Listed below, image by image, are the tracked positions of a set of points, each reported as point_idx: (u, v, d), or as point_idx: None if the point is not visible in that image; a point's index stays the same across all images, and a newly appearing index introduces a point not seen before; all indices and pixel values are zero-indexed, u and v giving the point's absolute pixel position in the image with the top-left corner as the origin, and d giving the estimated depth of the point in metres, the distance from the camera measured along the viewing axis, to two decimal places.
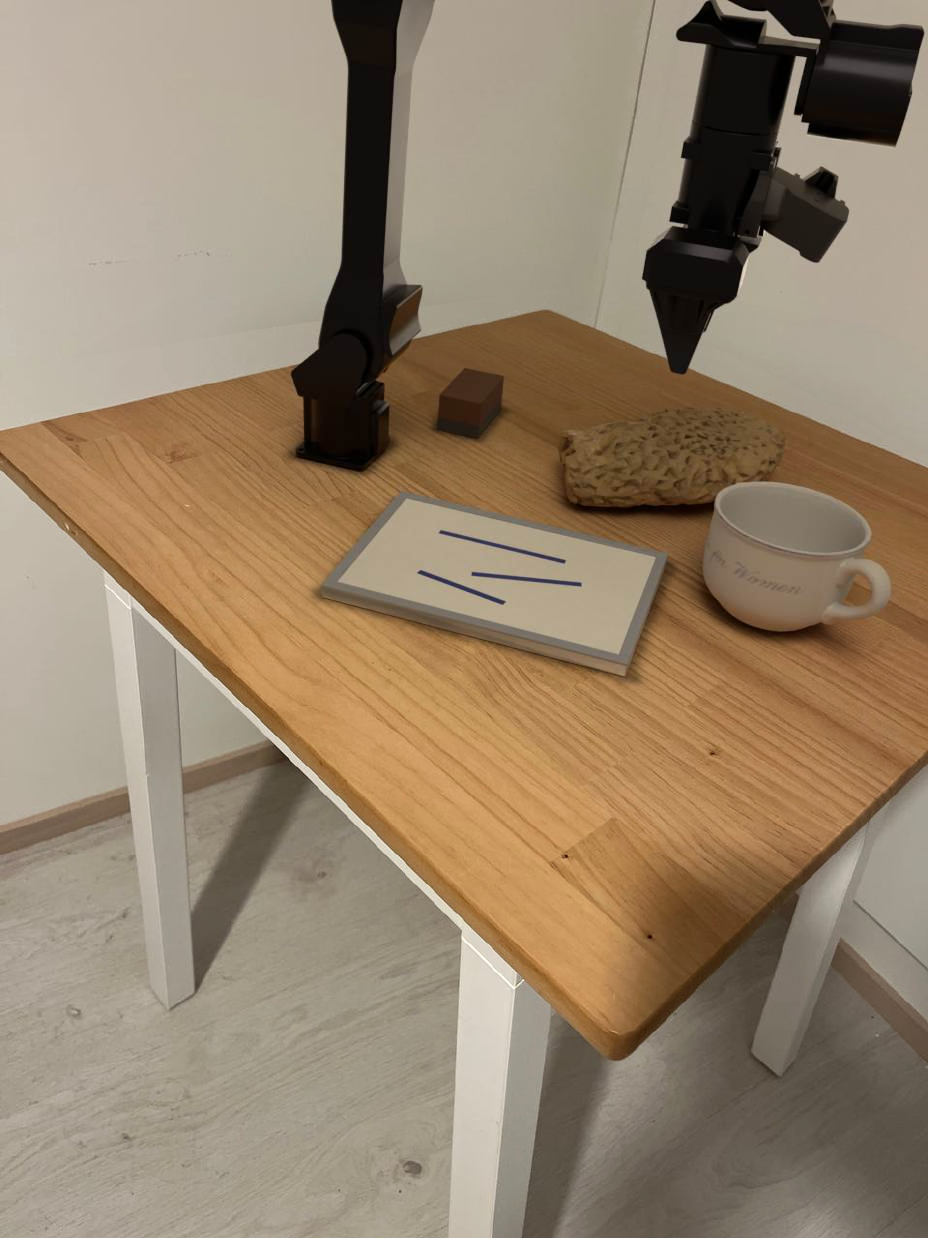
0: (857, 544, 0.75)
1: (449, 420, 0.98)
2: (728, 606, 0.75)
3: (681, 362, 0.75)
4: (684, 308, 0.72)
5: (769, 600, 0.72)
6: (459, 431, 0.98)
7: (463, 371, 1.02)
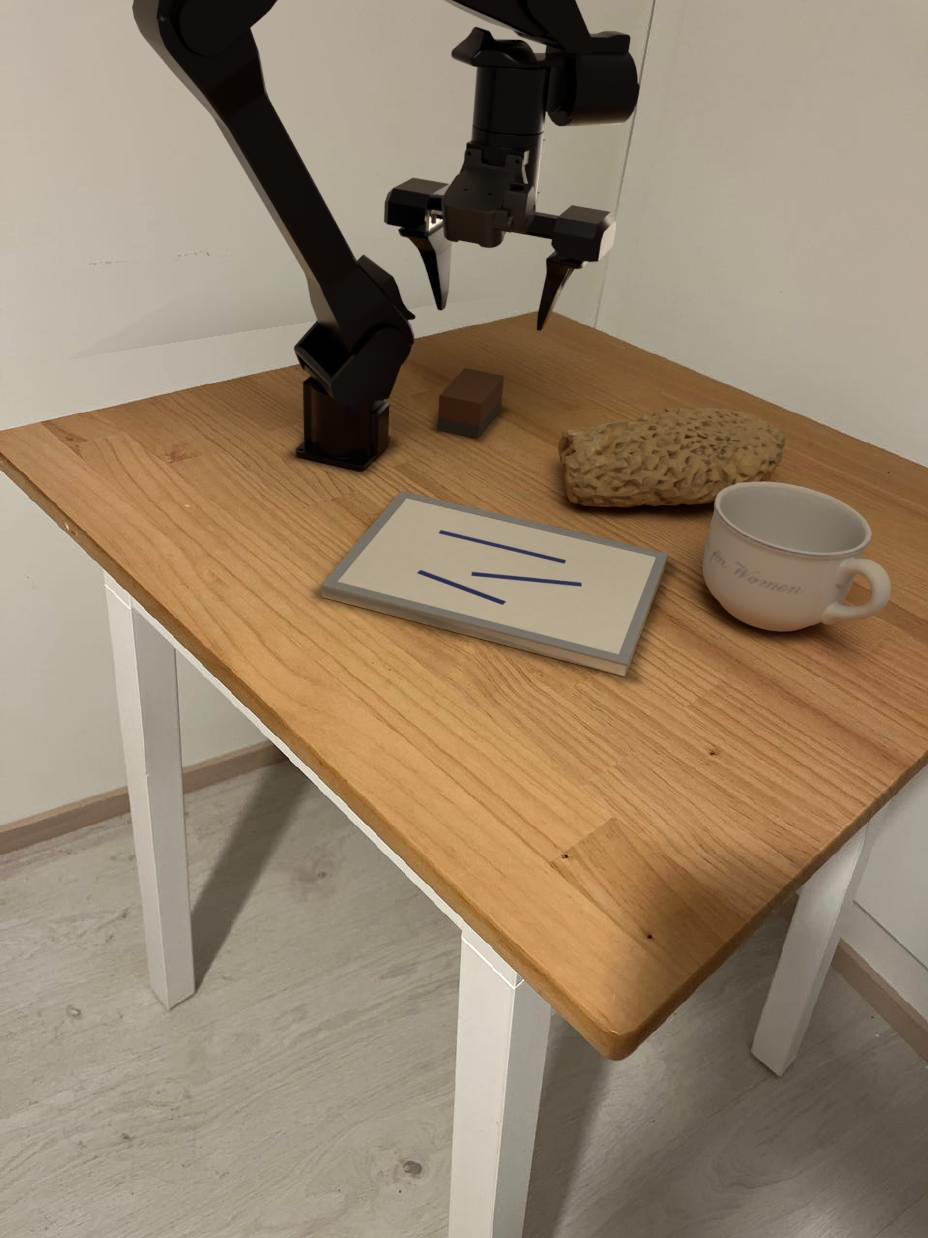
0: (857, 544, 0.75)
1: (449, 420, 0.98)
2: (728, 606, 0.75)
3: None
4: None
5: (769, 600, 0.72)
6: (459, 431, 0.98)
7: (463, 371, 1.02)
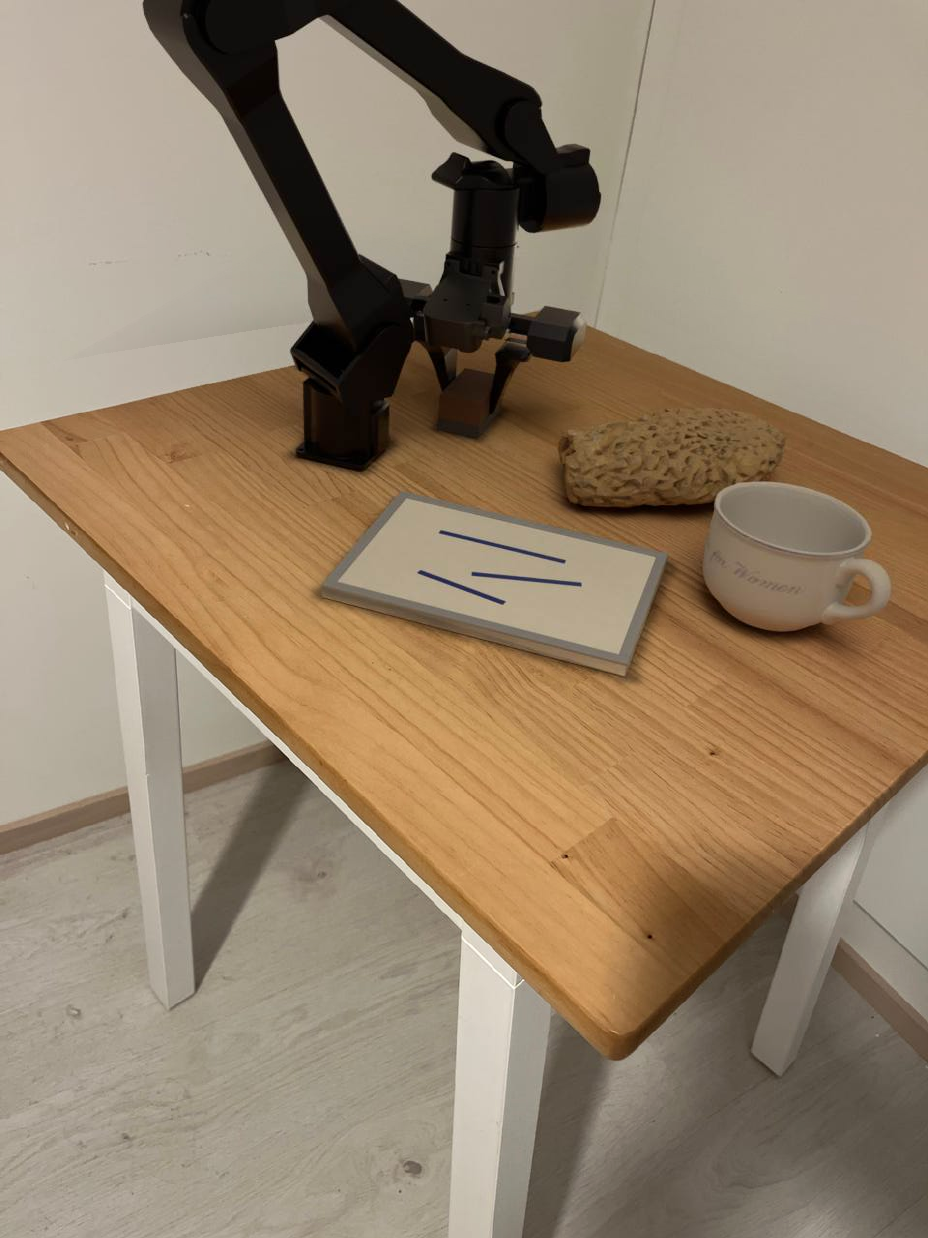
0: (857, 544, 0.75)
1: (449, 420, 0.98)
2: (728, 606, 0.75)
3: None
4: None
5: (769, 600, 0.72)
6: (459, 431, 0.98)
7: (463, 371, 1.02)
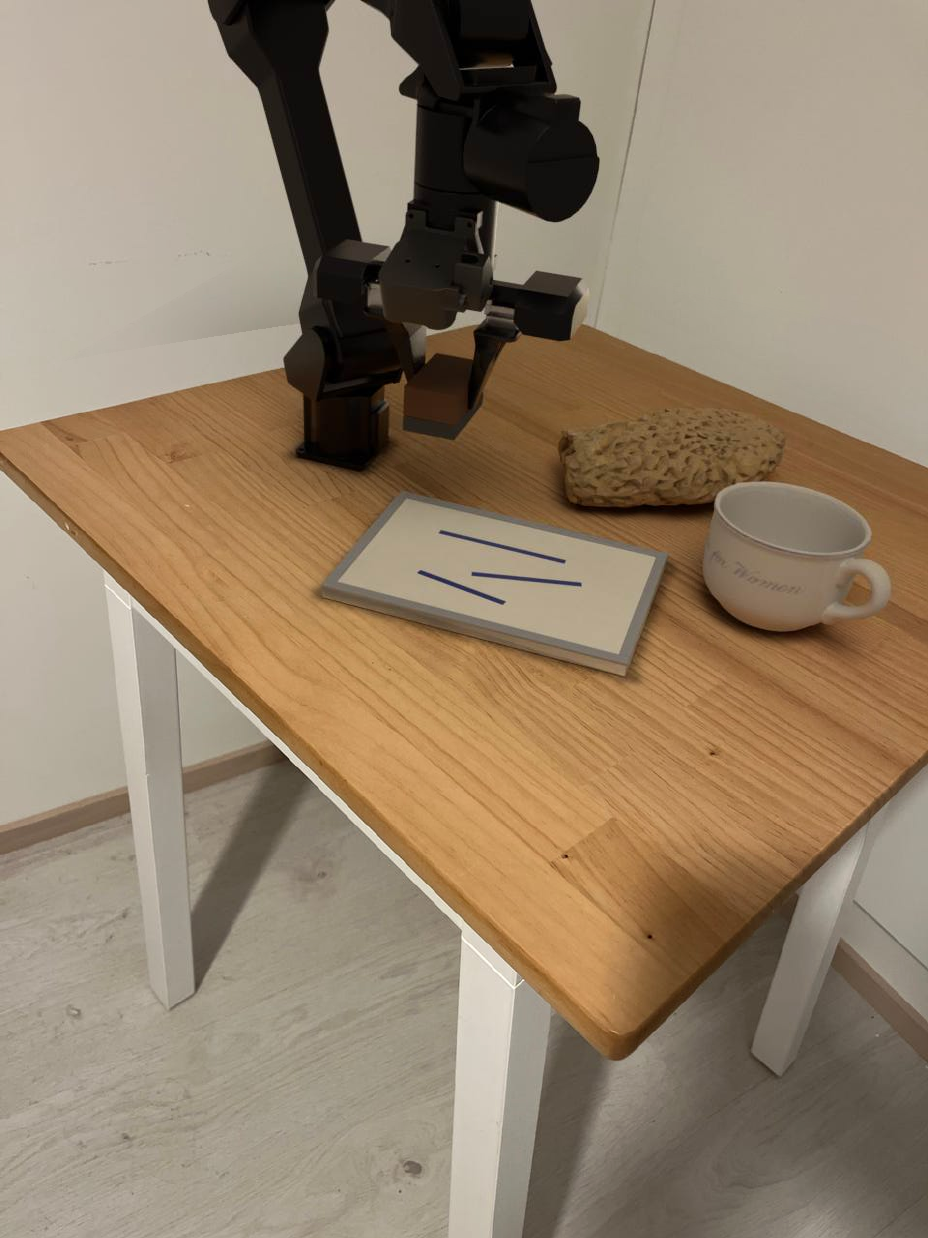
0: (857, 544, 0.75)
1: (418, 418, 0.77)
2: (728, 606, 0.75)
3: None
4: None
5: (769, 600, 0.72)
6: (430, 432, 0.78)
7: (434, 357, 0.81)
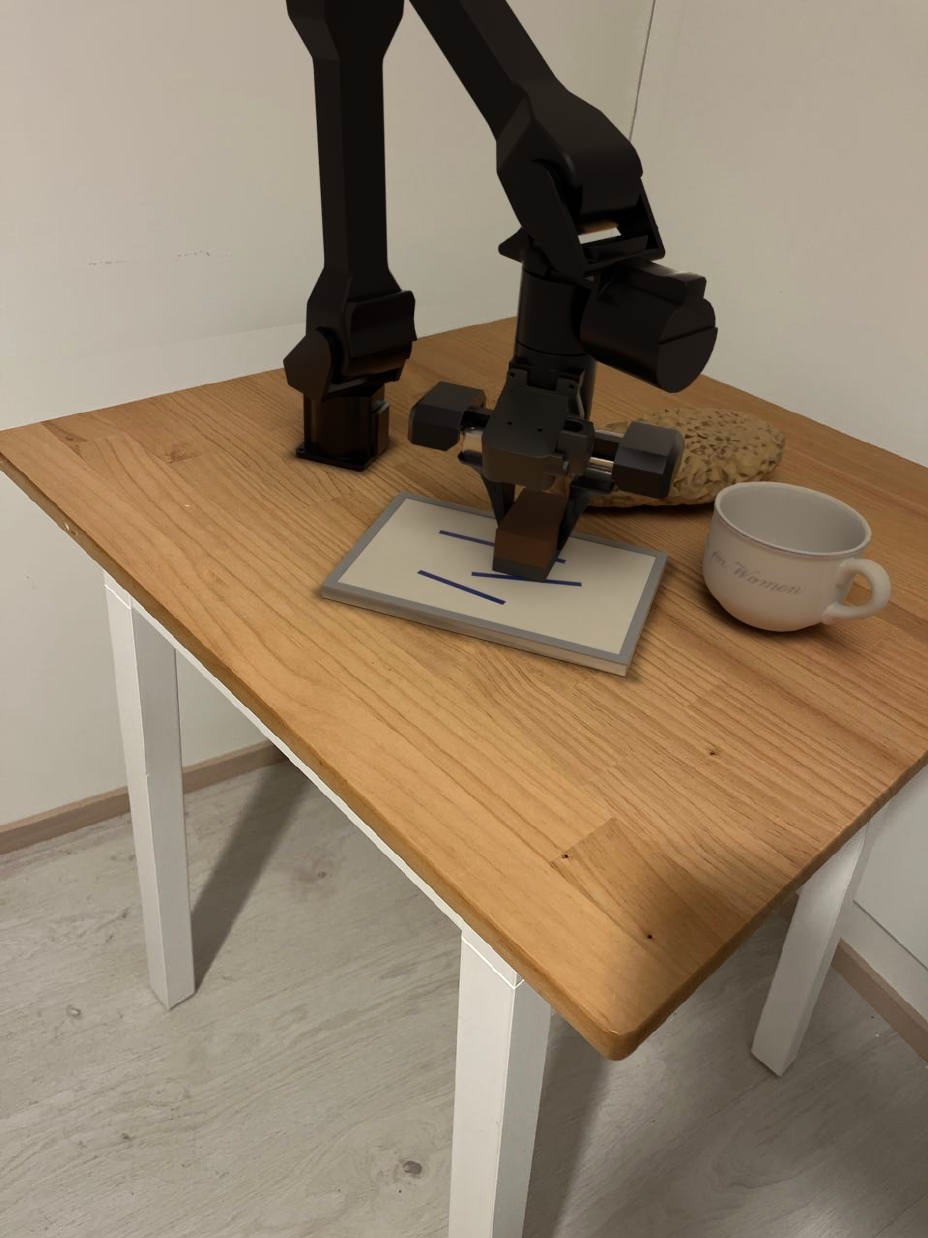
0: (857, 544, 0.75)
1: (508, 560, 0.77)
2: (728, 606, 0.75)
3: None
4: None
5: (769, 600, 0.72)
6: (520, 573, 0.78)
7: (523, 492, 0.81)
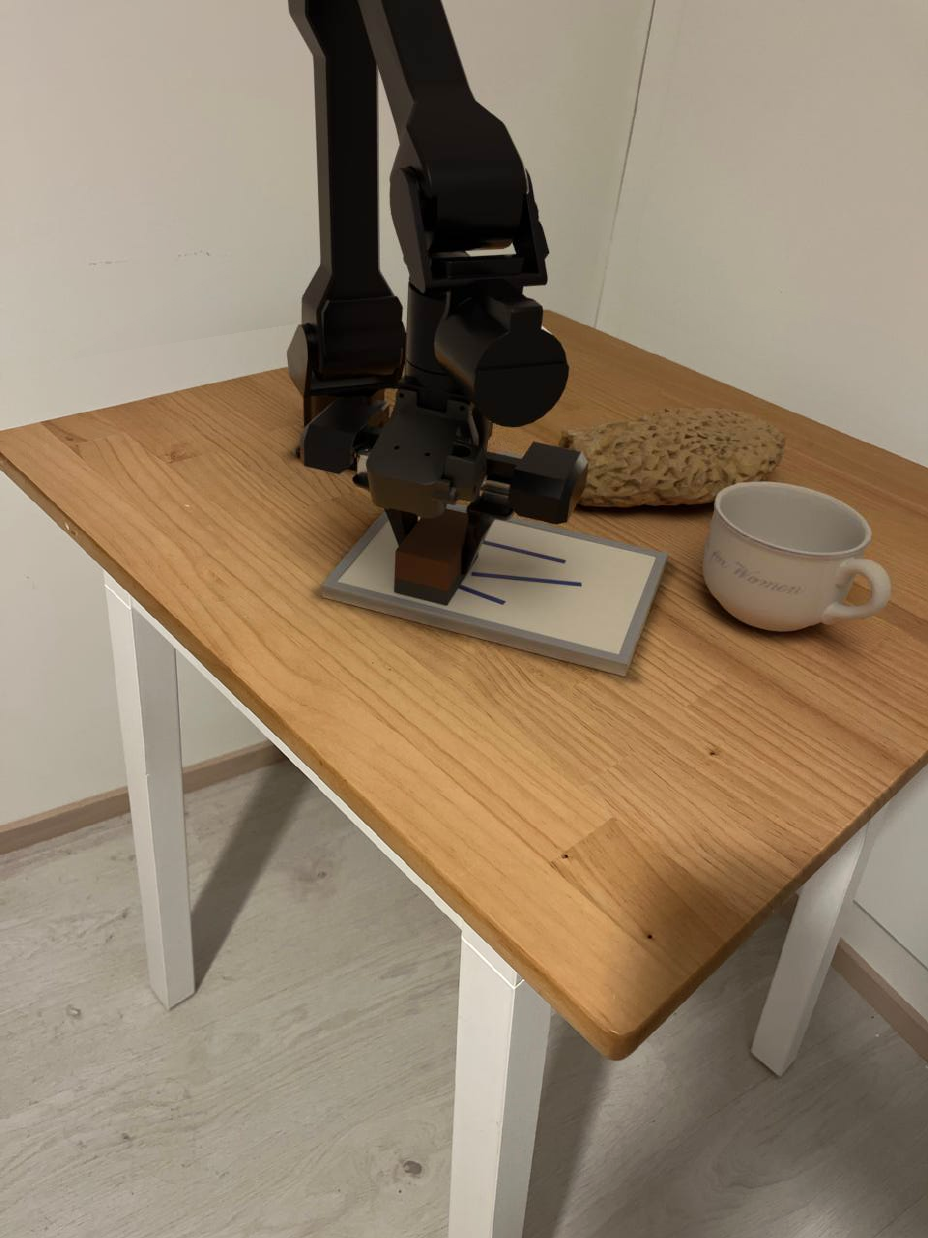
0: (857, 544, 0.75)
1: (410, 581, 0.74)
2: (728, 606, 0.75)
3: None
4: None
5: (769, 600, 0.72)
6: (422, 596, 0.74)
7: None
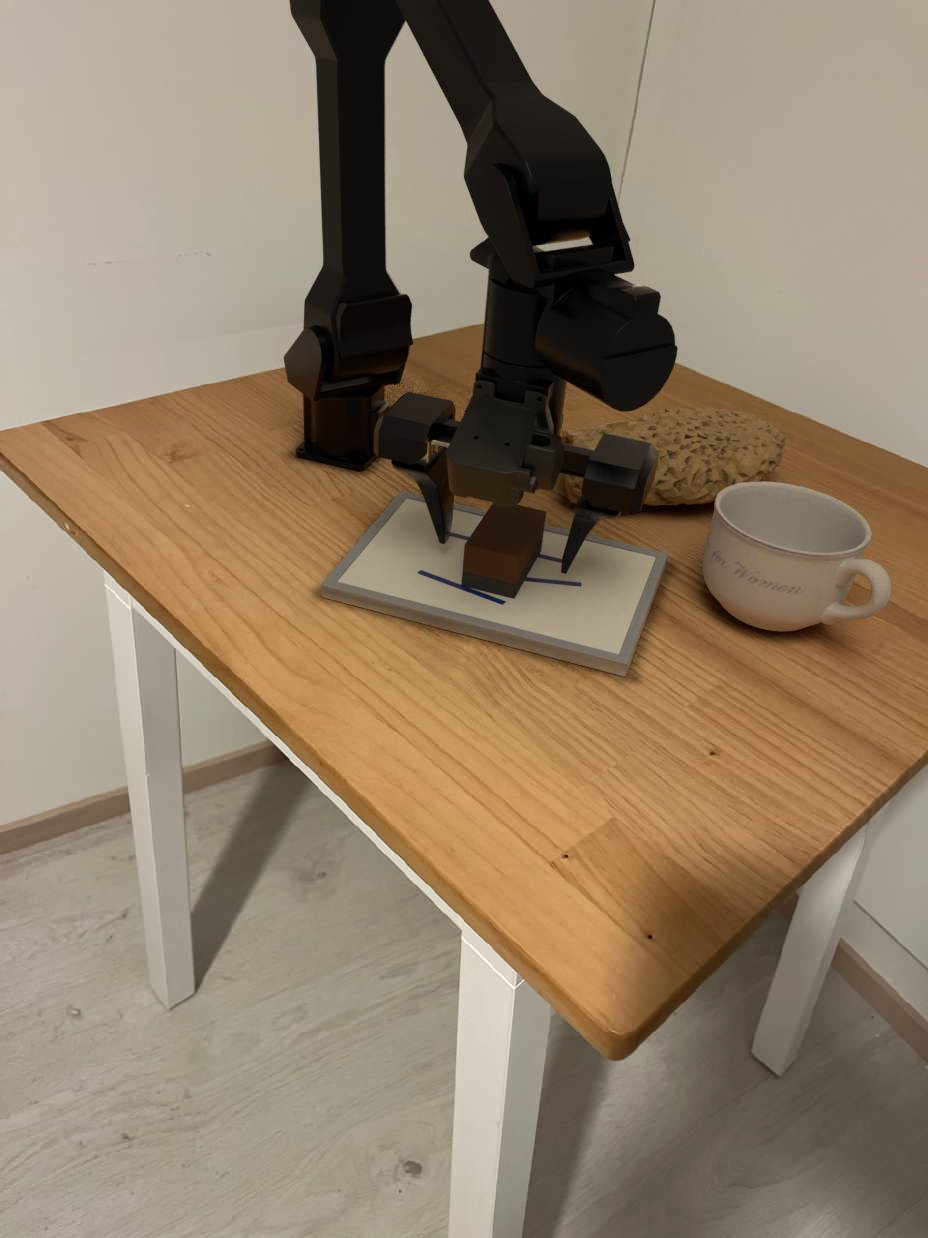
0: (857, 544, 0.75)
1: (477, 575, 0.75)
2: (728, 606, 0.75)
3: None
4: None
5: (769, 600, 0.72)
6: (490, 589, 0.76)
7: (494, 505, 0.79)
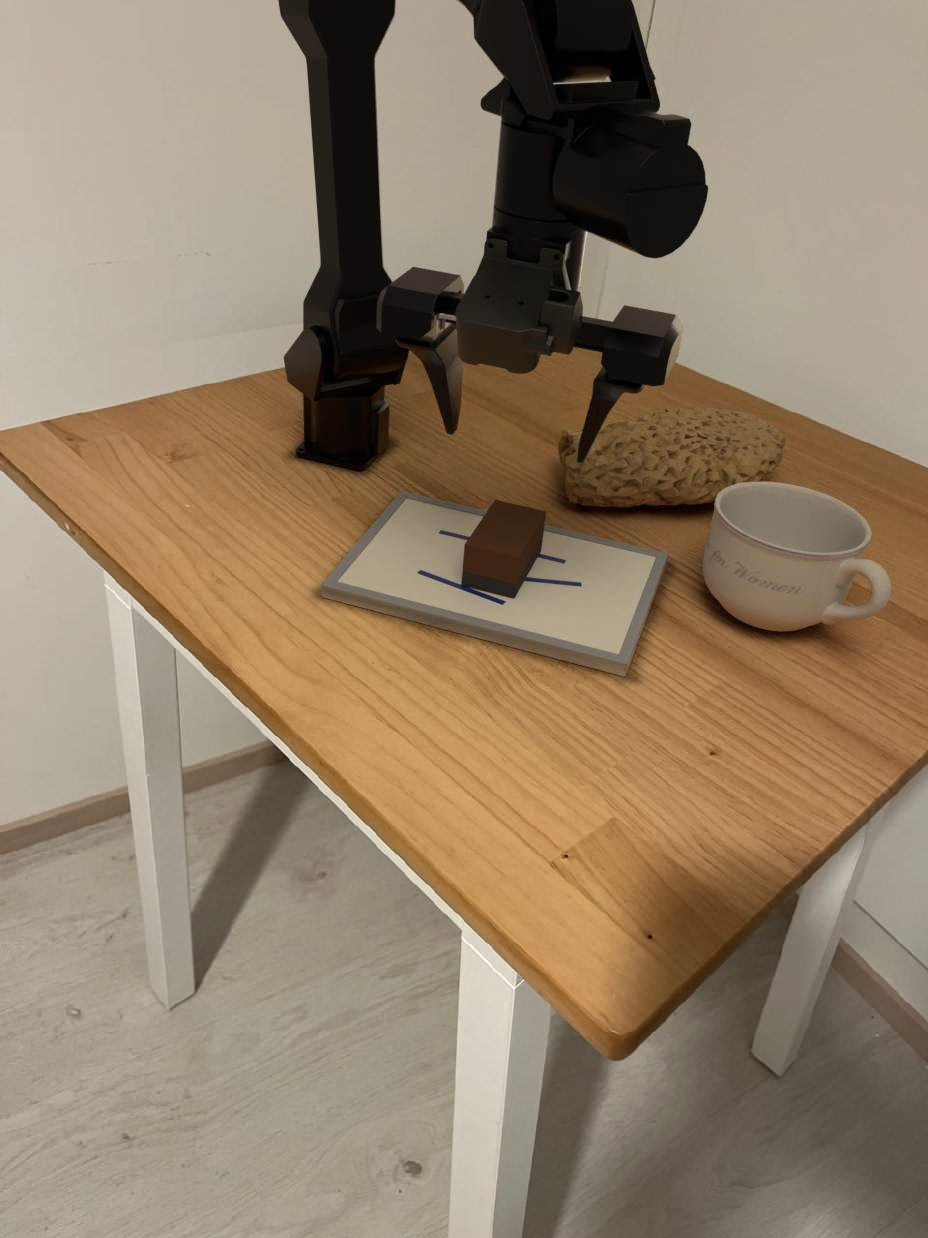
0: (857, 544, 0.75)
1: (477, 575, 0.75)
2: (728, 606, 0.75)
3: None
4: None
5: (769, 600, 0.72)
6: (490, 589, 0.76)
7: (494, 505, 0.79)
